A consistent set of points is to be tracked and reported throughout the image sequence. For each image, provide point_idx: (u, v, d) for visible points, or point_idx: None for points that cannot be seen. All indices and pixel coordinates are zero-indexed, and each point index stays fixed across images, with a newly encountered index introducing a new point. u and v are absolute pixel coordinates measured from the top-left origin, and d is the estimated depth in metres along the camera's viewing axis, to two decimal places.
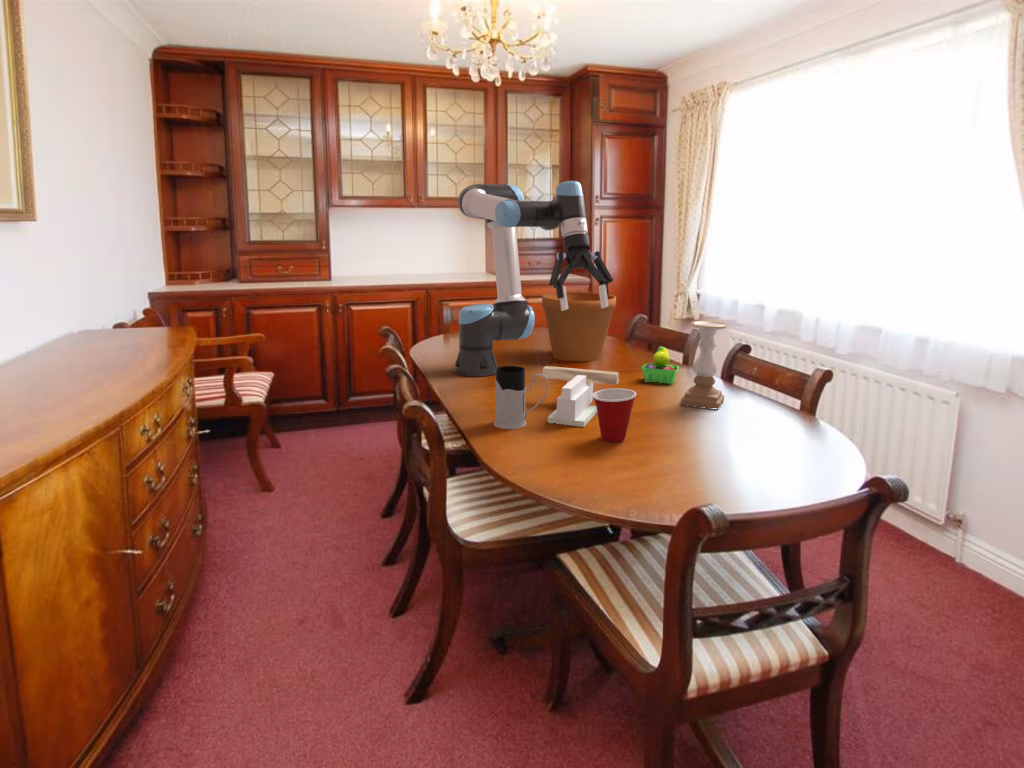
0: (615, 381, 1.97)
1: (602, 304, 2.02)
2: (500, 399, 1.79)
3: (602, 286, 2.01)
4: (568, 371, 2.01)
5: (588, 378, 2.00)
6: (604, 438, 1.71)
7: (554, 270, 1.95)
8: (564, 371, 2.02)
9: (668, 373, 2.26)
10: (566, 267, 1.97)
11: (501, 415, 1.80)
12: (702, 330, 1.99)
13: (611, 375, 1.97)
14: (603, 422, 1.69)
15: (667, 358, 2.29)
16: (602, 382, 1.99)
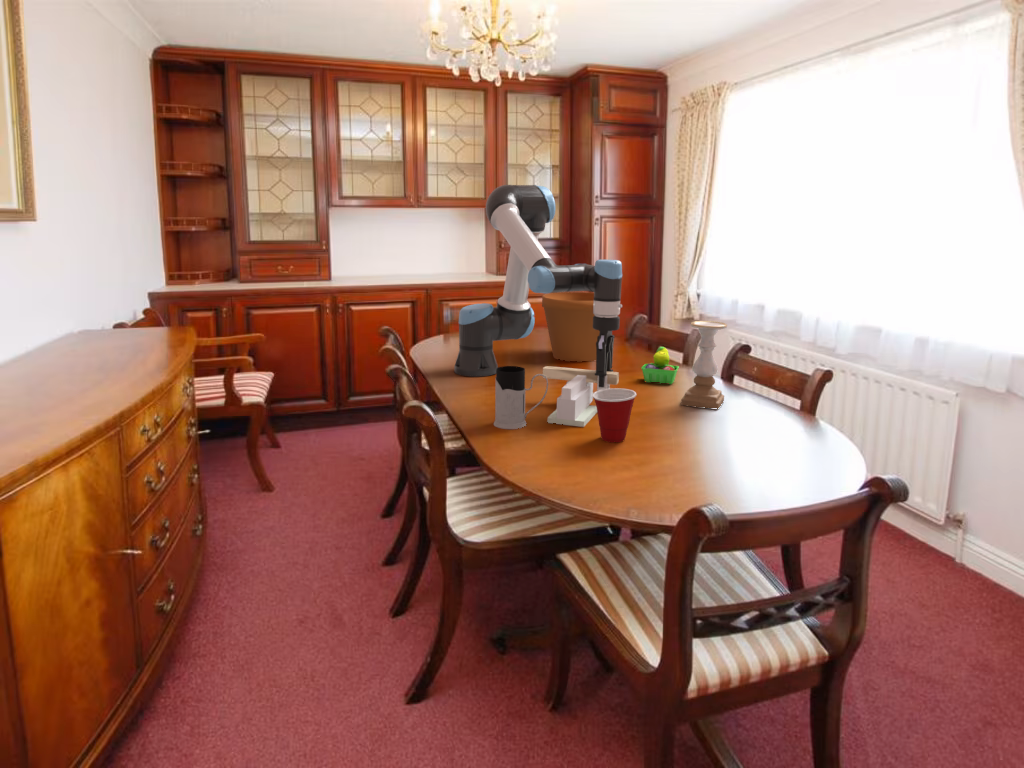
0: (615, 381, 1.97)
1: None
2: (500, 399, 1.79)
3: None
4: (568, 371, 2.01)
5: (588, 378, 2.00)
6: (604, 438, 1.71)
7: (600, 361, 1.93)
8: (564, 371, 2.02)
9: (668, 373, 2.26)
10: None
11: (501, 415, 1.80)
12: (702, 330, 1.99)
13: (611, 375, 1.97)
14: (603, 422, 1.69)
15: (667, 358, 2.29)
16: None
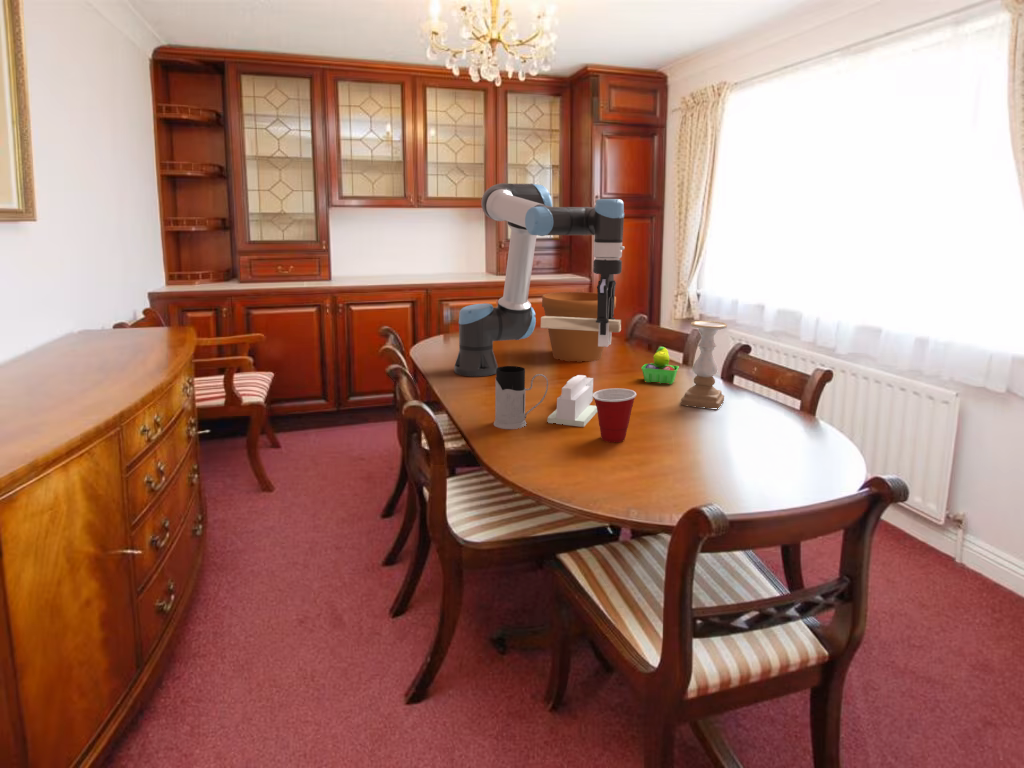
0: (617, 328, 1.87)
1: None
2: (500, 399, 1.79)
3: None
4: (568, 320, 1.91)
5: (589, 326, 1.90)
6: (604, 438, 1.71)
7: (601, 306, 1.83)
8: (563, 320, 1.91)
9: (668, 373, 2.26)
10: None
11: (501, 415, 1.80)
12: (702, 330, 1.99)
13: (613, 322, 1.87)
14: (603, 422, 1.69)
15: (667, 358, 2.29)
16: None
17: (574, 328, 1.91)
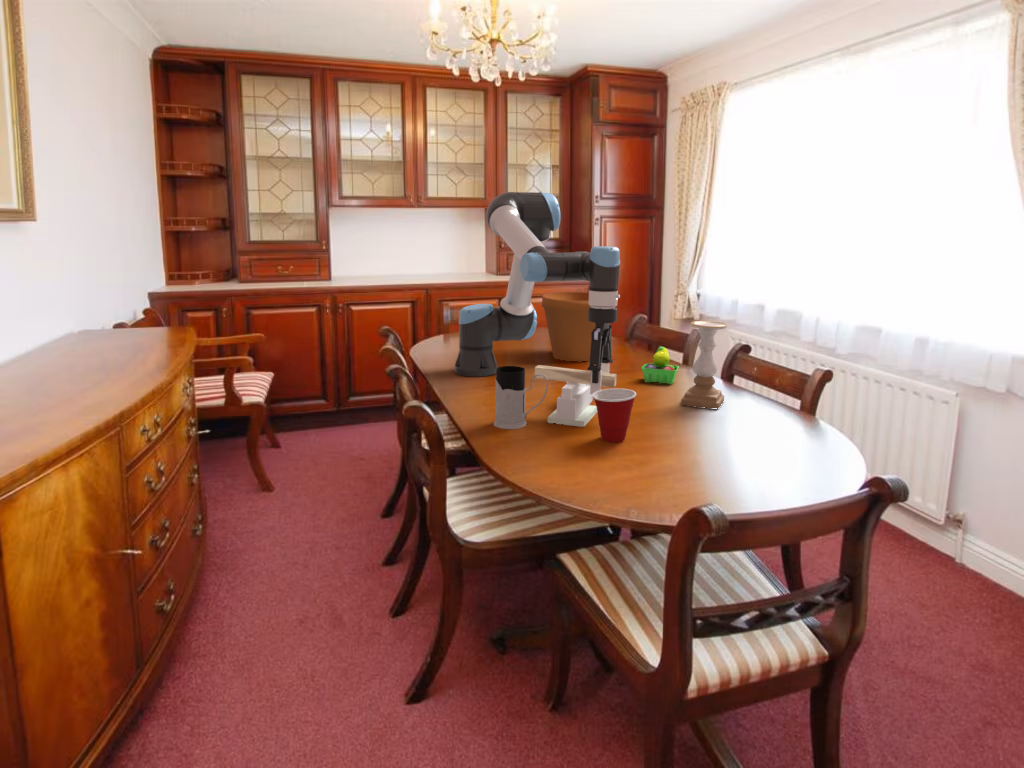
0: (612, 383, 1.83)
1: None
2: (500, 399, 1.79)
3: (606, 365, 1.89)
4: (562, 371, 1.87)
5: (583, 379, 1.86)
6: (604, 438, 1.71)
7: (594, 353, 1.77)
8: (558, 371, 1.88)
9: (668, 373, 2.26)
10: None
11: (501, 415, 1.80)
12: (702, 330, 1.99)
13: (608, 377, 1.83)
14: (603, 422, 1.69)
15: (667, 358, 2.29)
16: None
17: (568, 380, 1.87)
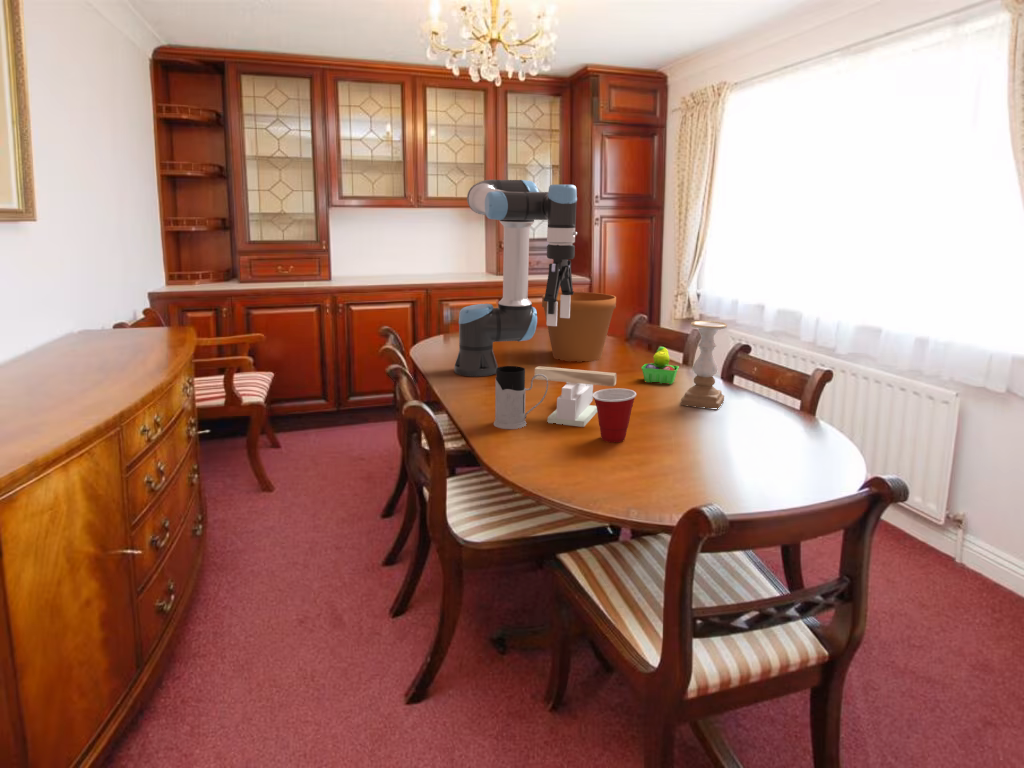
0: (612, 382, 1.83)
1: (562, 314, 1.98)
2: (500, 399, 1.79)
3: (567, 297, 1.96)
4: (562, 372, 1.87)
5: (583, 379, 1.86)
6: (604, 438, 1.71)
7: (551, 284, 1.82)
8: (557, 372, 1.88)
9: (668, 373, 2.26)
10: None
11: (501, 415, 1.80)
12: (702, 330, 1.99)
13: (608, 376, 1.83)
14: (603, 422, 1.69)
15: (667, 358, 2.29)
16: (598, 383, 1.84)
17: (568, 380, 1.87)
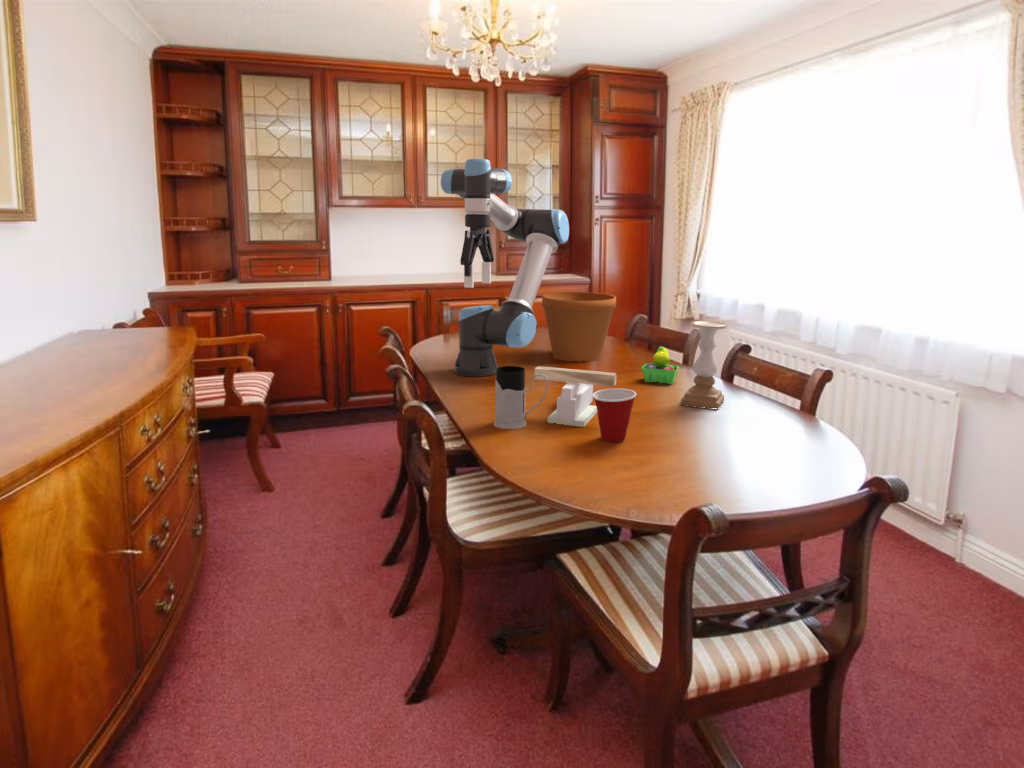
0: (612, 382, 1.83)
1: (484, 280, 2.17)
2: (500, 399, 1.79)
3: (488, 263, 2.15)
4: (562, 372, 1.87)
5: (583, 379, 1.86)
6: (604, 438, 1.71)
7: (466, 248, 2.01)
8: (557, 372, 1.88)
9: (668, 373, 2.26)
10: None
11: (501, 415, 1.80)
12: (702, 330, 1.99)
13: (608, 376, 1.83)
14: (603, 422, 1.69)
15: (667, 358, 2.29)
16: (598, 383, 1.84)
17: (568, 380, 1.87)
